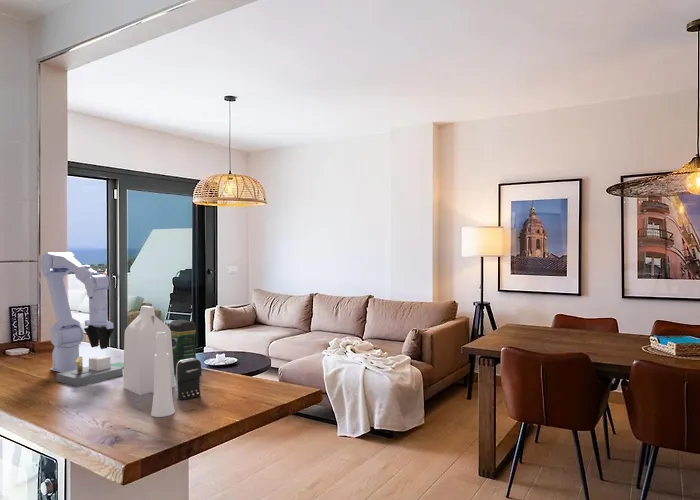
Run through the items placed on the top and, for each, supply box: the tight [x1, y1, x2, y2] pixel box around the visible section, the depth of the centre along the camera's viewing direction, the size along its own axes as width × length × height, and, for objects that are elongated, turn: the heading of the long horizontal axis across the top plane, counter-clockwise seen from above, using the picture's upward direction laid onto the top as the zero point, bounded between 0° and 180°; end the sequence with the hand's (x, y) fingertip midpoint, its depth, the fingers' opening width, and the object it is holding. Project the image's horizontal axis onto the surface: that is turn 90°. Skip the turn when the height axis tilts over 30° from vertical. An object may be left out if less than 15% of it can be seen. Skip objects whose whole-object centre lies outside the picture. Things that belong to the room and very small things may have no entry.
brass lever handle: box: [75, 356, 84, 372], centre depth 170 cm, size 2×8×5 cm, turn 23°
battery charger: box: [175, 357, 202, 401], centre depth 150 cm, size 7×4×11 cm, turn 133°
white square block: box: [88, 355, 112, 371], centre depth 178 cm, size 5×5×4 cm
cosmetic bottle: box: [150, 332, 176, 418], centre depth 136 cm, size 6×6×22 cm
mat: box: [111, 361, 124, 369], centre depth 190 cm, size 9×9×1 cm
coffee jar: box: [168, 319, 197, 374], centre depth 182 cm, size 10×8×19 cm
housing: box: [56, 366, 124, 387], centre depth 175 cm, size 13×16×3 cm
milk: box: [122, 305, 176, 396], centre depth 162 cm, size 12×12×26 cm
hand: (99, 347), depth 178 cm, fingers open, 5 cm apart
